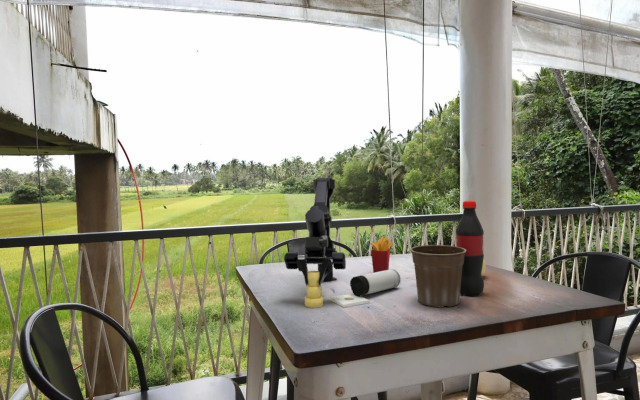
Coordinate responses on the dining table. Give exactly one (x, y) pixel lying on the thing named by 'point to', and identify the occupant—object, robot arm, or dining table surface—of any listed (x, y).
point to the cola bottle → (471, 250)
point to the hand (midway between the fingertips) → (313, 284)
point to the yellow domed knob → (313, 291)
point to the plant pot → (438, 274)
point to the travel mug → (374, 282)
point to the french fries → (381, 255)
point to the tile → (349, 300)
